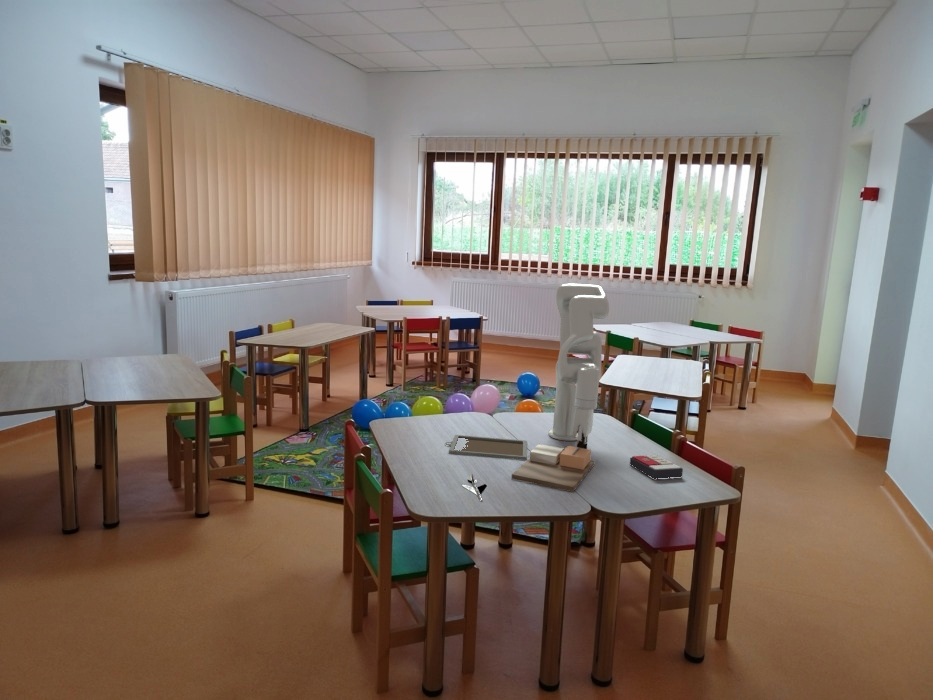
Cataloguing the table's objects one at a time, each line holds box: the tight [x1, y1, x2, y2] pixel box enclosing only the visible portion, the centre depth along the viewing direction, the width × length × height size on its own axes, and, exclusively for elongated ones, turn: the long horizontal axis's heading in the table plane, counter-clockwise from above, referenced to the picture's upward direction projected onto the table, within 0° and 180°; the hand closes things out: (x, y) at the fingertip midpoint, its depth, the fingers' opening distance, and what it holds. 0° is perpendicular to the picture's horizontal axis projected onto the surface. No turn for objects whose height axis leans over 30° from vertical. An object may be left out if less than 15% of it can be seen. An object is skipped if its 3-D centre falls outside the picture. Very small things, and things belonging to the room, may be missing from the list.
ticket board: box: [511, 443, 595, 492], centre depth 208 cm, size 28×20×4 cm
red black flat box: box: [629, 454, 684, 479], centre depth 214 cm, size 11×4×15 cm
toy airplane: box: [461, 474, 488, 502], centre depth 191 cm, size 8×21×2 cm, turn 10°
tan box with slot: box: [560, 445, 592, 470], centre depth 212 cm, size 10×8×4 cm
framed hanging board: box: [444, 434, 528, 461], centre depth 229 cm, size 19×2×30 cm
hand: (581, 454), depth 219 cm, fingers closed
